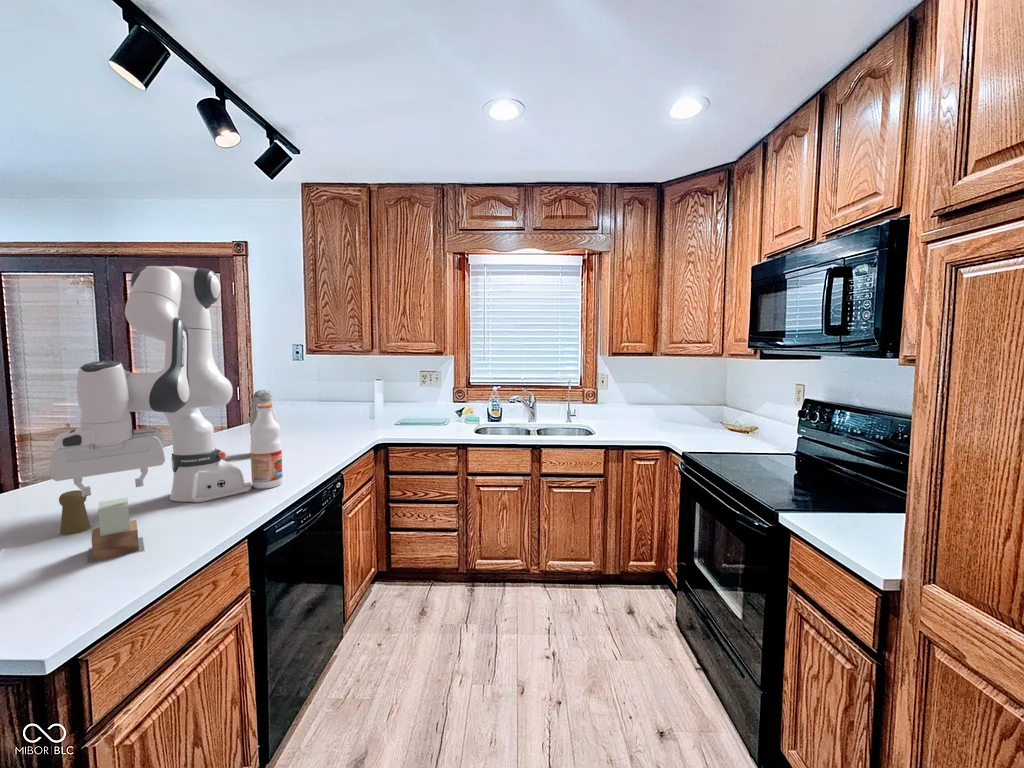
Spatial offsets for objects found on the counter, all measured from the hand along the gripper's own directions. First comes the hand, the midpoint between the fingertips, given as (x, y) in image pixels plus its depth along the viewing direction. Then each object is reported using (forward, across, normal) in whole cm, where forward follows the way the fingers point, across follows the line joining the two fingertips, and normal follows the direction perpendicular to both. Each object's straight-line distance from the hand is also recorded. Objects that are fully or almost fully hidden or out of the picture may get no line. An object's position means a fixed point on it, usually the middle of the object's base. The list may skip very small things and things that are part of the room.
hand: (113, 490), depth 110 cm
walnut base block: (+14, +1, +1) cm, 14 cm away
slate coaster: (+15, +1, +1) cm, 15 cm away
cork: (+15, +9, -20) cm, 27 cm away
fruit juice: (+17, -39, -33) cm, 54 cm away
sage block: (+9, 0, +1) cm, 9 cm away
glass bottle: (+18, -49, -81) cm, 97 cm away
